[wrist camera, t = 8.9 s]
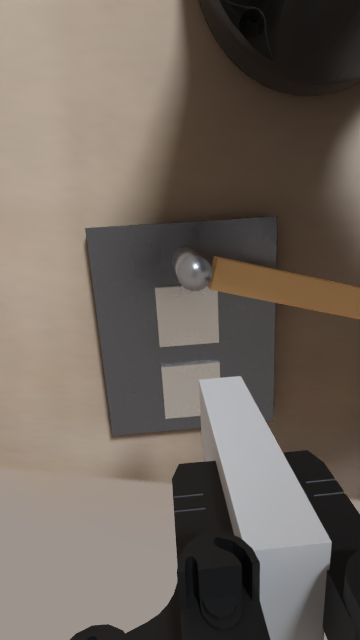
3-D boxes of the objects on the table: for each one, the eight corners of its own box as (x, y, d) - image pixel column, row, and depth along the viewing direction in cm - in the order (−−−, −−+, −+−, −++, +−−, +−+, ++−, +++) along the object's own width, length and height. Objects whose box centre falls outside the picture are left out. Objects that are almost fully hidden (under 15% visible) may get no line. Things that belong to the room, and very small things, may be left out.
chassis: (88, 227, 24) (58, 231, 17) (271, 216, 25) (322, 215, 17) (114, 427, 29) (99, 500, 21) (268, 413, 29) (307, 479, 22)
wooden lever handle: (205, 289, 21) (209, 295, 19) (214, 250, 21) (220, 253, 19) (380, 324, 23) (399, 333, 21) (394, 289, 22) (414, 295, 20)
